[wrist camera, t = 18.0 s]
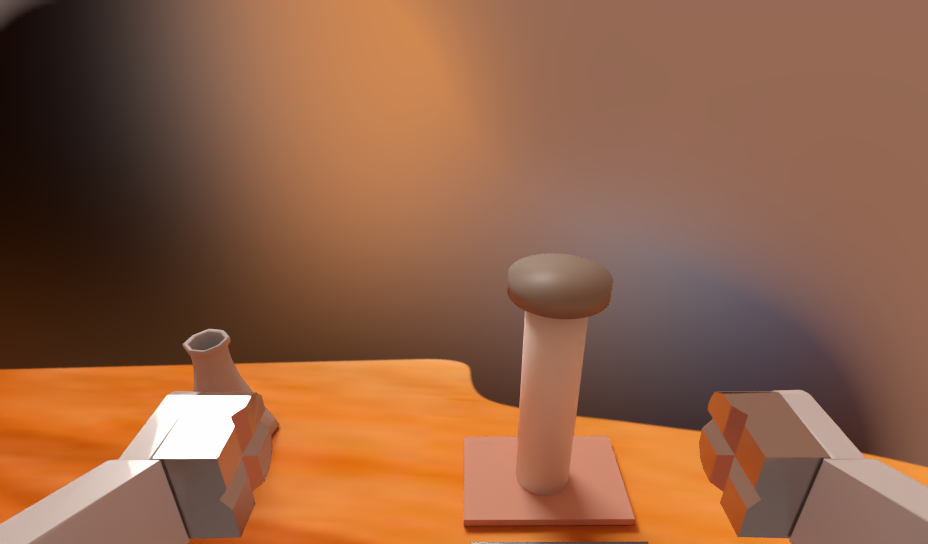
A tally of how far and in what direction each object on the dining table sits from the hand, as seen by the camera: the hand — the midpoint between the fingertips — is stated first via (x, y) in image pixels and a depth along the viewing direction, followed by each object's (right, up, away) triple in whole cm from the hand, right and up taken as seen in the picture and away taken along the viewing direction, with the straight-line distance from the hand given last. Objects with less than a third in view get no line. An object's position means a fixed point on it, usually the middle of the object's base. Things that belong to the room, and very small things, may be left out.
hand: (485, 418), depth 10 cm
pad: (+6, -13, +31) cm, 34 cm away
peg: (+6, -13, +31) cm, 34 cm away
